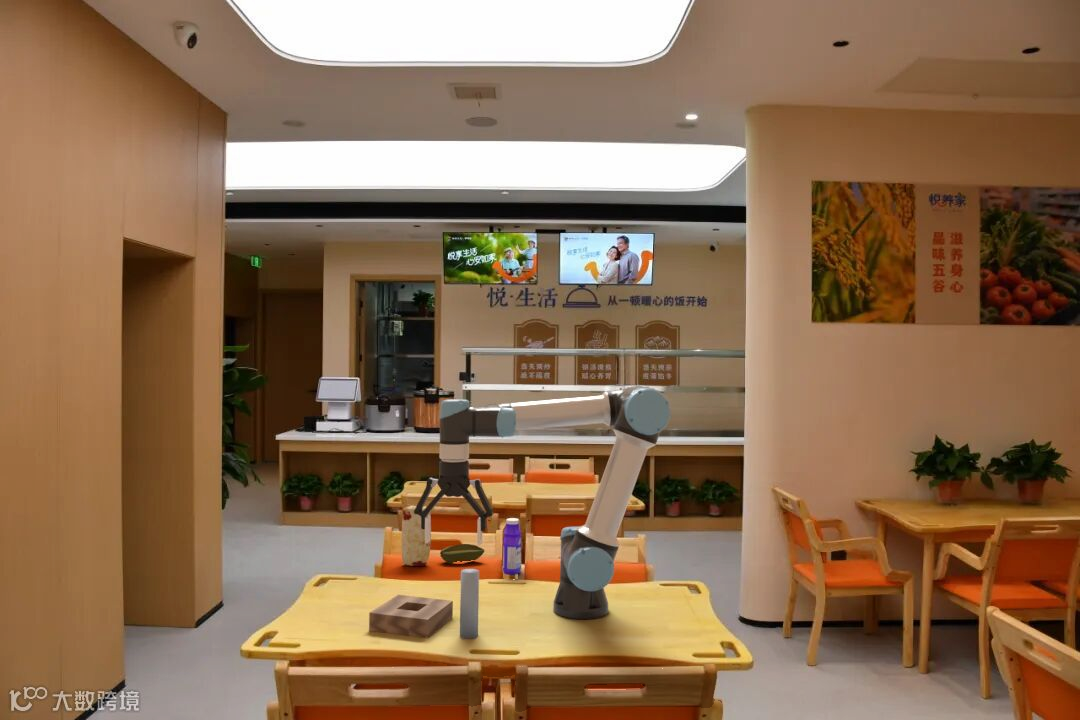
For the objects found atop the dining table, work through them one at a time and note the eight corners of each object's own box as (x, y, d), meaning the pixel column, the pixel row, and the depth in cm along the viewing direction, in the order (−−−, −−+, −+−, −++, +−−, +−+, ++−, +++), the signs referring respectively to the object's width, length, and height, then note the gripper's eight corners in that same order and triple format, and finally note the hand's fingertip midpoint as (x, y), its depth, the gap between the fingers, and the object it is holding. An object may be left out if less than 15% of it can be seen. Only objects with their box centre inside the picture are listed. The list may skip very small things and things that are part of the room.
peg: (480, 633, 196) (481, 569, 196) (474, 639, 192) (475, 574, 192) (463, 631, 197) (464, 568, 197) (457, 637, 193) (458, 572, 193)
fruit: (459, 557, 272) (459, 538, 272) (485, 562, 265) (486, 543, 265) (436, 563, 263) (436, 544, 263) (463, 569, 256) (463, 549, 256)
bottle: (517, 576, 248) (518, 521, 248) (500, 575, 250) (501, 520, 250) (522, 570, 256) (523, 517, 256) (506, 569, 257) (507, 516, 257)
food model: (399, 567, 257) (400, 506, 257) (402, 562, 263) (403, 503, 263) (429, 568, 257) (430, 507, 257) (431, 562, 263) (432, 503, 263)
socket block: (452, 617, 208) (452, 600, 208) (427, 637, 192) (427, 619, 192) (398, 611, 212) (398, 594, 212) (369, 630, 197) (369, 612, 197)
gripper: (504, 459, 202) (504, 541, 202) (410, 457, 205) (410, 537, 205) (499, 462, 194) (499, 548, 194) (402, 460, 197) (401, 544, 197)
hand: (453, 543), depth 200 cm, fingers open, 13 cm apart
